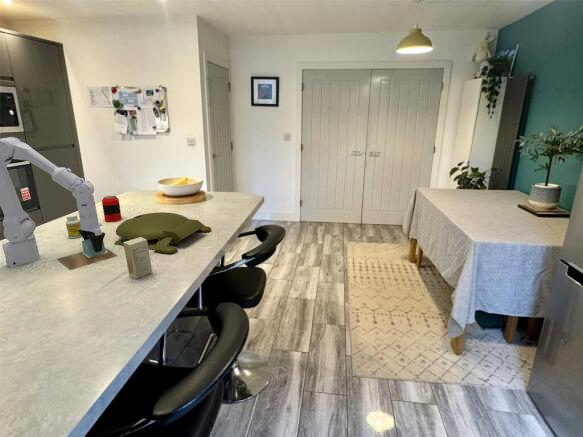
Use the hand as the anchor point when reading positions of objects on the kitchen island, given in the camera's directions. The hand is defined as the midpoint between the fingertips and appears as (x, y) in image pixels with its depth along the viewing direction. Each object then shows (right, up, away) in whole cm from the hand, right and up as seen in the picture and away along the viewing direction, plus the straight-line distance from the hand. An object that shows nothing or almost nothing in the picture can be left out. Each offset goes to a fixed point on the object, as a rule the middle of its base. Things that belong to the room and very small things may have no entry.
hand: (94, 248), depth 128 cm
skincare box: (+24, -7, -14) cm, 29 cm away
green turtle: (+17, +3, +20) cm, 27 cm away
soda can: (-15, +11, +43) cm, 47 cm away
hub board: (0, -4, -3) cm, 5 cm away
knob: (0, -1, 0) cm, 2 cm away
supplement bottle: (-20, +3, +20) cm, 29 cm away
